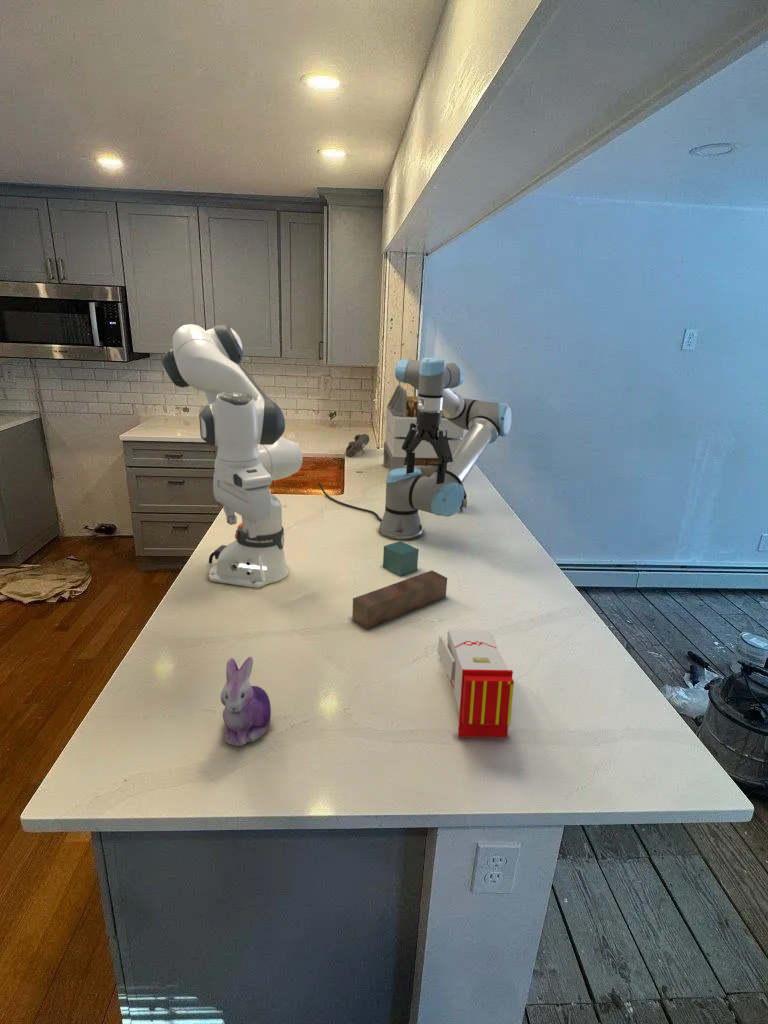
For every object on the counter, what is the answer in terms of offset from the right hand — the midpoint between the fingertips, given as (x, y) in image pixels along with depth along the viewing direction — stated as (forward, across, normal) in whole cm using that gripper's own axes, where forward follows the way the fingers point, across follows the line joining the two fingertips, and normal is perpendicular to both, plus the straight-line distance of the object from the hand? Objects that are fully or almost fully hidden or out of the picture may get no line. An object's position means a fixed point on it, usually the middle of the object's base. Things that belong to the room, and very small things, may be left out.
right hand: (424, 478), depth 179 cm
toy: (+25, +60, -43) cm, 78 cm away
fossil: (+25, -114, +63) cm, 133 cm away
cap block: (+25, +7, -15) cm, 30 cm away
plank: (+25, +25, -31) cm, 47 cm away
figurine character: (+25, -22, +42) cm, 53 cm away
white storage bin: (+25, -67, +64) cm, 96 cm away
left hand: (-2, +13, -70) cm, 71 cm away
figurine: (+25, +42, -85) cm, 98 cm away
